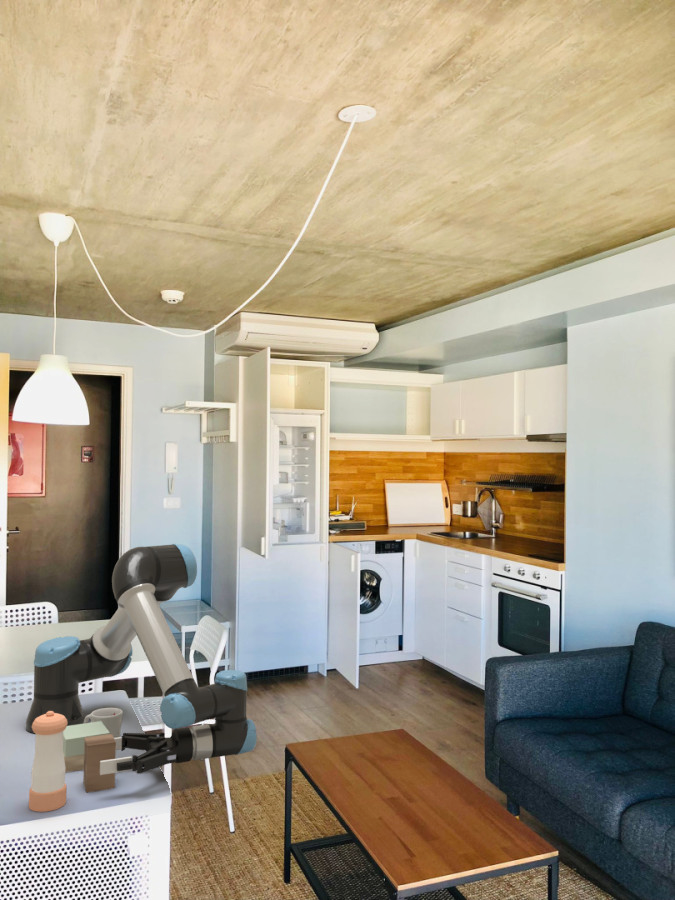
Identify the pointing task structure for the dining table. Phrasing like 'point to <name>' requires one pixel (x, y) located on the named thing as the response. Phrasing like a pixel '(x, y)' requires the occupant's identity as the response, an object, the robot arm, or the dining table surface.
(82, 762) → the tower bottom block
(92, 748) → the walnut block
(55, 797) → the pepper shaker
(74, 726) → the tower top block
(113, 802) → the dining table surface
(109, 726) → the cup
